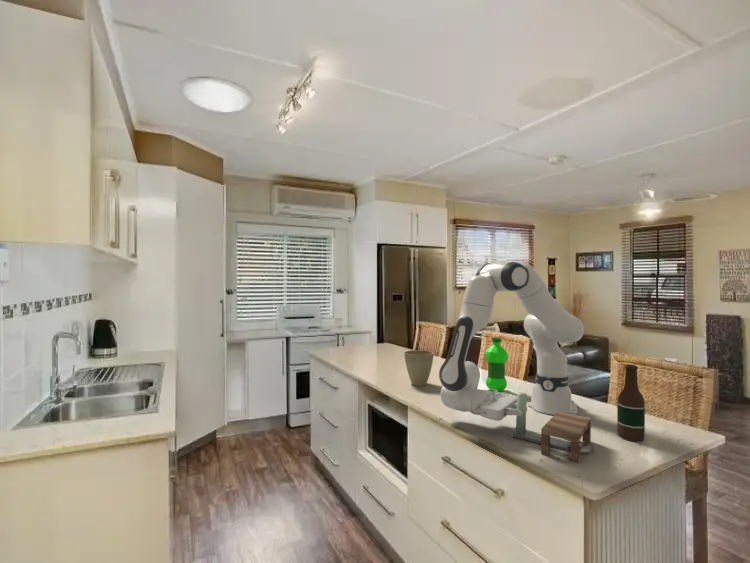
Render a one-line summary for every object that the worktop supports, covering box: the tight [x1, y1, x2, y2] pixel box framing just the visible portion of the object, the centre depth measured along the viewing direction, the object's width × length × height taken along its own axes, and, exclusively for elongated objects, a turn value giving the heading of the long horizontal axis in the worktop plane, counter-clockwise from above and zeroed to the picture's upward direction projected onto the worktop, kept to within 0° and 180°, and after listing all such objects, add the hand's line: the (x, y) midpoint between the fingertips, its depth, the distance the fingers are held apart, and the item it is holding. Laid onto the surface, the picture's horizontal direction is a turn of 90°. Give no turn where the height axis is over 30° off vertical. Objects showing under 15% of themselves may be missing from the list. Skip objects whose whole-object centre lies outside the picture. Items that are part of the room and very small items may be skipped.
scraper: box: [511, 391, 571, 452], centre depth 127 cm, size 17×6×14 cm, turn 52°
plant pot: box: [403, 349, 435, 387], centre depth 198 cm, size 15×15×16 cm
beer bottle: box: [616, 364, 646, 443], centre depth 131 cm, size 8×8×24 cm
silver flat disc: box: [569, 442, 591, 455], centre depth 120 cm, size 6×6×1 cm
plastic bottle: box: [485, 336, 509, 393], centre depth 187 cm, size 10×10×25 cm
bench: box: [540, 412, 592, 464], centre depth 123 cm, size 20×10×8 cm, turn 142°
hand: (524, 411), depth 131 cm, fingers closed on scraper, 3 cm apart
